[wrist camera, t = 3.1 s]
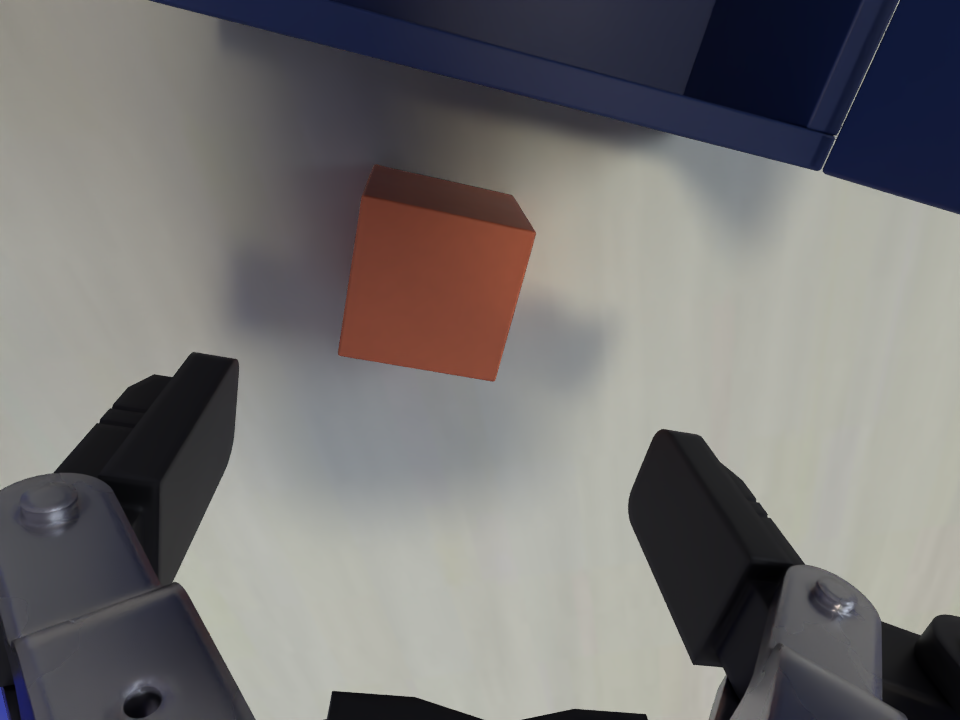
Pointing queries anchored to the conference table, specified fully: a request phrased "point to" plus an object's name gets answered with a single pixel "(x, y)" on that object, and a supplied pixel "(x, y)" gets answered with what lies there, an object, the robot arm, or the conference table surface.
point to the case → (622, 57)
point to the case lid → (908, 110)
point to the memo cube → (434, 274)
